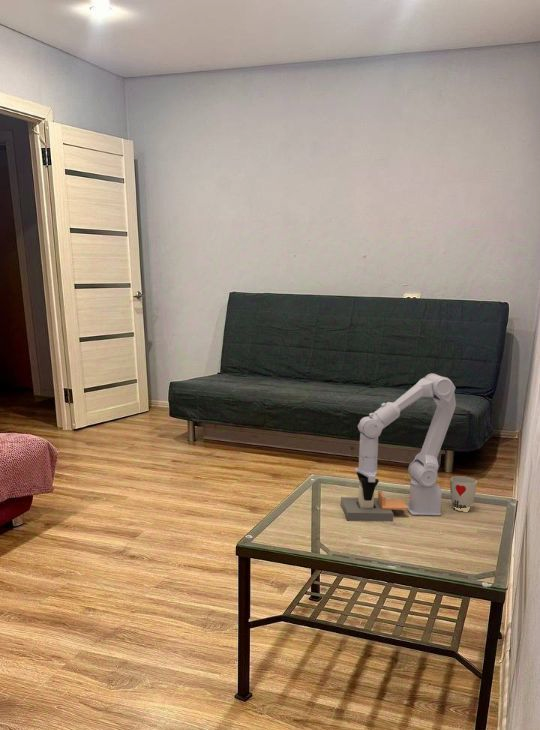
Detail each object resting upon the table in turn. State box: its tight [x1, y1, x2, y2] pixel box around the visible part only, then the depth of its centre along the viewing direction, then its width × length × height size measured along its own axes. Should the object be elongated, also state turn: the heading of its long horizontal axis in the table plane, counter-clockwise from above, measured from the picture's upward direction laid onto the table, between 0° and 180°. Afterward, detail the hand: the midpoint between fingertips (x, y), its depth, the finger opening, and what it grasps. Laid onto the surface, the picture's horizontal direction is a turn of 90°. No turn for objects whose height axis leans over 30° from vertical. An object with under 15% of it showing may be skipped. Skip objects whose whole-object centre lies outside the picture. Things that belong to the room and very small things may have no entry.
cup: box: [450, 475, 478, 509], centre depth 192 cm, size 8×8×10 cm
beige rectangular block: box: [358, 479, 375, 508], centre depth 187 cm, size 4×4×8 cm
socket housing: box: [340, 496, 394, 522], centre depth 188 cm, size 14×14×2 cm
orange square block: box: [377, 490, 408, 511], centre depth 187 cm, size 8×8×4 cm
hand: (366, 497), depth 187 cm, fingers closed on beige rectangular block, 4 cm apart
